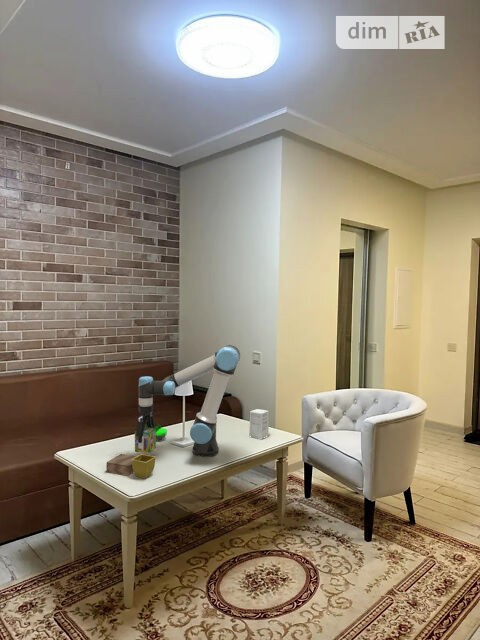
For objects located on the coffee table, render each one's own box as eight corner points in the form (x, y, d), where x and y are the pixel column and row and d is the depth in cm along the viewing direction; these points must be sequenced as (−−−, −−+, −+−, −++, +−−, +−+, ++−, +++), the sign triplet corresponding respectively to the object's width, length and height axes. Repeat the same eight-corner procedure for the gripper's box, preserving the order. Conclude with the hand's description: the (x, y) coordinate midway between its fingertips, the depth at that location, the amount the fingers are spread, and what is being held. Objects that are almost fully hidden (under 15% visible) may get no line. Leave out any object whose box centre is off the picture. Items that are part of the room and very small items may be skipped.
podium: (142, 466, 230) (142, 457, 230) (129, 475, 217) (129, 465, 217) (120, 463, 234) (121, 453, 234) (106, 472, 221) (106, 462, 221)
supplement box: (268, 436, 287) (269, 410, 287) (261, 439, 280) (262, 413, 279) (256, 433, 293) (256, 408, 292) (248, 437, 285) (249, 411, 284)
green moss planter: (163, 443, 268) (163, 425, 267) (144, 441, 270) (145, 423, 269) (169, 437, 279) (170, 420, 279) (152, 435, 281) (152, 418, 281)
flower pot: (130, 477, 216) (131, 459, 215) (140, 471, 224) (141, 453, 223) (146, 480, 213) (146, 462, 212) (155, 474, 221) (156, 456, 220)
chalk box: (150, 453, 238) (150, 426, 237) (134, 452, 240) (134, 425, 239) (156, 448, 247) (156, 421, 246) (141, 446, 249) (141, 420, 248)
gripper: (149, 400, 254) (149, 438, 255) (128, 409, 233) (128, 451, 234) (161, 401, 252) (161, 440, 253) (141, 410, 231) (141, 452, 232)
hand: (145, 445), depth 243 cm, fingers closed on chalk box, 9 cm apart
